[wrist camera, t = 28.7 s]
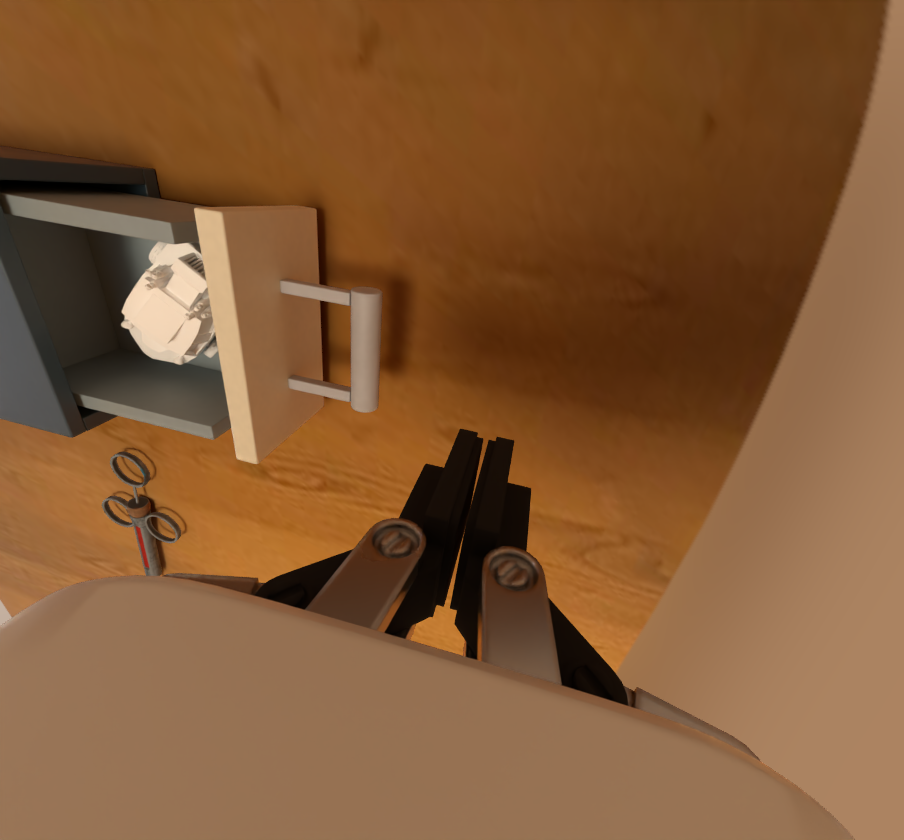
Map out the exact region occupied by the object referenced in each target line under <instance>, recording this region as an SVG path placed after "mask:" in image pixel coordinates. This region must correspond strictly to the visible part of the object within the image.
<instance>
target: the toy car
mask: <svg viewBox="0 0 904 840" xmlns="http://www.w3.org/2000/svg"><path fill="white" fill-rule="evenodd" d="M149 260H150V261H151V263H153V265H152V266H151V267H150V268H149V269H146V270H145V271H146V272H145V273H144V274H143V275H142V276H141V278H140V279H139V281H138V283H136V284H135V286H134V288H133V289H132V291H131V293H130V295H129V296H128V298H127V299H126V302H125V304H124V307H123V309H122V313H123V314H124V315H125V318H124V320H125V321H123V322H122V323H121V326H122V327H123V328H126V329H129V331H130V333H131V335H132V337H133V338H134V340H135V341H136V342H137V344H138V345H139V347H140V348H141V350H142V351H143V352H144V353H145V354H146V355H147V356H149V357H151V358H152V359H157V360H162V361H167V362H174V363H175V364H179V365H181V364H184V363H187V362H188V361H190V360H192V359H194V358H195V357H197V356H198V355H199V354H200V353H201V352H202V351H203V350H204V349H205V347H206V346H207V348H206V349H205V351H204V352H203V353H204V354H205V355H206V356H207V357H209V358H211V357H213V356H214V355H215V354H216V353H217V352H218V347H217V341H216V340H214V341H213V342H212V343H211V344H210V345H209V343H210V342H211V341H212V339H213V338H214V336H215V329H214V324H213V318H212V312H211V306H210V300H209V294H208V289H207V283H206V277H205V271H204V265H203V259H202V254H201V248H200V242H192V243H183V244H175V245H174V244H169V243H163V242H158V243H157V244H156V245H155V246H154V247H153V249H152V250H151V252H150V254H149Z"/></svg>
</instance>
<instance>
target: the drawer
mask: <svg viewBox="0 0 904 840" xmlns="http://www.w3.org/2000/svg"><path fill="white" fill-rule="evenodd" d="M0 205H1V208H2V210H3V213H4V215H5V218H6V221H7V223H8V226H9V229H10V231H11V234H12V236H13V239H14V242H15V244H16V247H17V250H18V252H19V255H20V258H21V260H22V263H23V265H24V268H25V271H26V273H27V276H28V279H29V281H30V284H31V286H32V289H33V292H34V294H35V297H36V300H37V302H38V305H39V307H40V310H41V313H42V315H43V318H44V321H45V323H46V326H47V328H48V331H49V334H50V336H51V339H52V342H53V344H54V347H55V349H56V352H57V355H58V357H59V360H60V363H61V365H62V368H63V370H64V373H65V376H66V378H67V381H68V384H69V386H70V389H71V391H72V394H73V397H74V399H75V402H76V405H78V406H82V407H86V408H90V409H94V410H98V411H102V412H106V413H110V414H114V415H118V416H122V417H126V418H129V419H133V420H137V421H141V422H145V423H149V424H153V425H157V426H161V427H165V428H169V429H173V430H177V431H181V432H185V433H189V434H193V435H197V436H200V437H204V438H208V439H212V440H214V439H216V438H217V437H218V436H220V435H221V434H223V433H224V432H226V431H227V430H229V429H230V428H232V434H233V440H234V446H235V452H236V457H237V459H238V460H242V461H246V462H250V463H254V464H258V463H259V462H260V461H262V460H263V459H264V458H265V457H266V456H267V455H268V454H270V453H271V452H272V451H273V450H274V449H275V448H276V447H278V446H279V445H280V444H281V443H282V442H283V441H285V440H286V439H287V438H288V437H289V436H290V435H291V434H293V433H294V432H295V431H296V430H297V429H298V428H299V427H301V426H302V425H303V424H304V423H305V422H306V421H307V420H309V419H310V418H311V417H312V416H313V415H314V414H315V413H317V412H318V411H319V410H320V409H321V408H322V407H323V406H324V396H325V397H330V398H334V399H338V400H343V401H347V402H350V401H351V407H352V408H353V409H354V410H356V411H358V412H372V411H374V410H376V409H377V408H378V400H379V373H380V346H381V320H382V291H381V290H379V289H376V288H372V287H354V288H352V289H351V290H347V289H342V288H336V287H331V286H325V285H320V284H319V262H318V236H317V210H316V209H315V208H310V207H304V206H297V205H288V206H239V207H207V206H201V205H195V204H189V203H183V202H177V201H170V200H164V199H158V198H152V197H146V196H140V195H134V194H128V193H122V192H116V191H109V190H103V189H97V188H91V187H85V186H79V185H64V184H62V185H61V184H33V183H1V182H0ZM158 242H163V243H169V244H174V245H175V244H183V243H192V242H200V248H201V254H202V259H203V265H204V271H205V277H206V283H207V289H208V294H209V300H210V306H211V312H212V318H213V324H214V329H215V336H214V338H213V339H212V341H211V342H210V343H209V345H210V344H211V343H212V342H213V341H214V340H216V341H217V347H218V352H217V353H216V354H215V355H214V356H213V357H211V358H209V357H207V356H206V355H205V354H204V353H203V352H204V351H205V349H206V348H207V346H206V347H205V349H204V350H203V351H202V352H201V353H200V354H199V355H198V356H197V357H195V358H194V359H192V360H190V361H188V362H187V363H184V364H181V365H179V364H175V363H174V362H167V361H162V360H157V359H152V358H151V357H149V356H147V355H146V354H145V353H144V352H143V351H142V350H141V348H140V347H139V345H138V344H137V342H136V341H135V340H134V338H133V337H132V335H131V333H130V331H129V329H126V328H123V327H122V326H121V323H122V322H123V321H125V320H124V318H125V315H124V314H123V313H122V309H123V307H124V304H125V302H126V299H127V298H128V296H129V295H130V293H131V291H132V289H133V288H134V286H135V284H136V283H138V281H139V279H140V278H141V276H142V275H143V274H144V273H145V272H146V271H145V270H146V269H149V268H150V267H151V266H152V265H153V263H151V261H150V260H149V254H150V252H151V250H152V249H153V247H154V246H155V245H156V244H157V243H158ZM320 300H321V301H326V302H332V303H337V304H342V305H347V306H350V305H351V387H347V386H343V385H338V384H334V383H329V382H324V381H323V367H322V340H321V314H320Z"/></svg>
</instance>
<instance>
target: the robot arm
mask: <svg viewBox="0 0 904 840" xmlns="http://www.w3.org/2000/svg"><path fill="white" fill-rule="evenodd" d="M477 434H478V432H473V431H469V430H464V429H460V430H459V433H458V435H457V438H456V440H455V442H454V445H453V447H452V450H451V452H450V455H449V457H448V460H447V462H446V464H445V467H444V468H443V467H439V466H434V465H430V464H425V466H424V467H423V470H422V472H421V474H420V476H419V478H418V480H417V482H416V484H415V486H414V488H413V490H412V492H411V494H410V496H409V498H408V500H407V502H406V504H405V507H404V509H403V511H402V513H401V515H400V517H399V518H391V519H386V520H383V521H380V522H378V523H376V524H375V525H374V526H373V527H372V528H370V529H369V531H368V532H367V533H366V534H365V536H364V537H363V538H362V539H361V541H360V542H359V543H358V544H357V546H356V547H355V548H354V549H353V550H350V551H347V552H344V553H341V554H339V555H336V556H333V557H330V558H327V559H325V560H322V561H319V562H316V563H313V564H310V565H308V566H305V567H302V568H299V569H296V570H294V571H291V572H288V573H285V574H282V575H280V576H277V577H275V578H273V579H271V580H269V581H268V582H266V583H259V582H258V578H250V577H234V576H217V575H200V574H183V573H176V574H166V575H163V576H143V575H134V576H120V577H108V578H101V579H95V580H90V581H85V582H81V583H77V584H74V585H71V586H68V587H65V588H62V589H60V590H58V591H56V592H54V593H52V594H50V595H48V596H46V597H44V598H43V599H41V600H39V601H37V602H36V603H34V604H32V605H31V606H29V607H28V608H26V609H24V610H23V611H21V612H20V613H18V614H17V615H15V616H14V617H12V618H11V619H10V620H8V621H7V622H5V623H4V624H2V625H1V626H0V840H855V839H854V838H853V836H852V835H851V834H850V833H849V832H848V831H847V830H846V829H845V828H844V827H843V825H842V824H841V823H839V821H838V820H837V819H836V818H835V817H834V816H832V814H831V813H829V812H828V811H827V810H826V809H825V808H823V806H821V805H820V804H819V803H818V802H817V801H815V800H814V799H813V798H812V797H811V796H809V795H808V794H807V793H805V792H804V791H803V790H801V789H800V788H799V787H798V786H796V785H795V784H793V783H792V782H790V781H789V780H788V779H786V778H785V777H783V776H782V775H780V774H778V773H777V772H776V771H774V770H773V769H771V768H770V767H768V766H767V765H765V764H764V763H762V762H761V761H760V760H759V758H758V757H757V756H756V755H755V754H754V753H753V752H752V751H751V750H750V749H749V748H748V747H747V746H746V745H745V744H743V743H742V742H740V741H739V740H737V739H736V738H734V737H733V736H731V735H729V734H727V733H726V732H724V731H722V730H720V729H718V728H716V727H714V726H712V725H709V724H708V723H706V722H704V721H702V720H700V719H698V718H696V717H694V716H692V715H691V714H689V713H687V712H685V711H683V710H680V709H679V708H677V707H675V706H673V705H671V704H669V703H667V702H665V701H663V700H661V699H659V698H657V697H656V696H654V695H651V694H650V693H648V692H646V691H644V690H642V689H640V688H638V687H637V688H636V689H635V691H633V690H631V689H629V688H627V687H625V686H623V684H622V682H621V680H620V679H619V678H618V676H617V675H616V673H615V672H614V671H613V670H612V668H611V667H610V666H609V665H608V664H607V663H606V662H605V661H604V660H603V658H602V657H601V656H600V655H599V654H598V653H597V652H596V651H595V649H594V648H593V647H592V646H591V645H590V644H589V643H588V642H587V640H586V639H585V638H584V637H583V636H582V635H581V634H580V633H579V631H578V630H577V629H576V628H575V627H574V626H573V625H572V624H571V623H570V621H569V620H568V619H567V618H566V617H565V616H564V615H563V614H562V612H561V611H560V610H559V609H558V608H557V607H556V606H555V605H554V603H553V602H552V601H551V600H550V599H549V598H548V594H547V587H546V581H545V575H544V572H543V569H542V566H541V565H540V563H539V562H538V561H537V559H536V558H534V557H533V556H532V555H531V554H530V553H528V552H526V549H527V537H528V524H529V511H530V499H531V488H528V487H524V486H520V485H515V484H511V483H507V482H508V476H509V470H510V464H511V458H512V452H513V446H514V440H509V439H505V438H500V437H497V438H496V441H492V440H489V441H488V445H487V448H486V452H485V456H484V460H483V463H482V467H481V471H480V474H479V478H478V482H477V485H476V489H475V493H474V496H473V491H474V486H475V481H476V475H477V470H478V465H479V460H480V455H481V449H482V444H483V438H479V437H477ZM472 496H473V500H472ZM471 502H472V504H471ZM470 507H471V508H470ZM464 530H465V532H464ZM463 534H464V537H463ZM462 538H463V542H462V547H461V553H460V558H459V563H458V568H457V574H456V579H455V584H454V589H453V595H452V600H451V605H450V609H454V610H457V614H456V619H455V625H456V627H457V628H458V630H459V631H460V633H461V634H462V636H463V637H464V639H465V643H464V647H463V656H461V655H458V654H454V653H451V652H448V651H444V650H441V649H437V648H434V647H431V646H427V645H424V644H420V643H417V642H414V641H410V639H411V637H412V635H413V632H414V629H415V626H416V623H418V622H420V621H422V620H424V619H426V618H428V617H433V615H434V611H435V608H436V605H440V606H443V607H444V604H445V600H446V597H447V593H448V589H449V586H450V582H451V578H452V575H453V571H454V567H455V564H456V560H457V556H458V552H459V549H460V545H461V541H462Z"/></svg>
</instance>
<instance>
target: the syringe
mask: <svg viewBox="0 0 904 840" xmlns="http://www.w3.org/2000/svg"><path fill="white" fill-rule="evenodd" d="M118 456H122V457H125V458H127V459H129V460H131V461H132V462H133V463H135V464H136V465H137V467H138V468H139V469H140V470H141V472H142V473H143V475H144V482H143V483H139V482H135V481H133V480H131V479H129V478H128V477H127V476H126V475H125V474H124V473H123V472H122V471H121V469H120V468H119V466H118V464H117V461H116V460H117V457H118ZM110 465H111V467H112V470H113V472H114V473H115V474H116V476H117V477H118V478H119V479H120V480H122V481H123V482H124V483H126V484H128V485H130V486H133V490H134V494H135V498H133V499H131V500H129V501H126V500H125V499H123V498H121V497H117V496H110V497H108V498H107V499H105V500H104V501H103V503H102V507H103V510H104V512H105V513H106V515H107V516H108V517H109V518H110V519H111V520H112V521H114V522H115V523H117V524H119V525H121V526H124V527H132V526H134V530H135V534H136V538H137V542H138V546H139V550H140V554H141V558H142V562H143V566H144V569H145V573H146V576H160V575H161V574H162V568H161V563H160V558H159V553H158V549H157V544H156V539H155V538H157V539H159V540H161V541H163V542H166V543H175V542H176V541H177V540H178V539H179V538H180V536H181V529H180V528H179V526H178V524H177V523H176V522H175V521H174V520H173V519H172V518H170V517H169V516H168V515H166V514H163V513H160V512H153V513H151V510H150V508H151V504H150V502H149V499H148V498H146V497H138V495H137V490H136V487H137V488H138V487H143V486H144V485H146V484H147V483H148V482H149V480H150V472H149V470H148V469H147V467H146V465H145V464H144V463H143V462H142V461H141V460H140V459H139V458H137V457H136V456H135V455H132V454H130V453H127V452H119V453H117V454H115V455H114V456H113V457H111V460H110ZM109 500H112V501H115V502H118V503H120V504H121V505H122V506H124V507H125V508H126V509H127V512H128V513H129V516H130V518H131V520H132V523H129V522H126V521H124V520H122V519H120V518H119V517H117V516H116V515H115V514H114V513H113V511H112V510H111V509H110V507H109V505H108V501H109ZM154 516H155V517H158V518H160V519H162V520H164V521H165V522H167V523H168V524H169V525H170V526H171V527H172V528H173V530H174V531H175V533H176V538H174V539H172V538H168V537H166V536H164V535H162V534H160V533H159V532H158V531H157V530H156V529H155V528H154V526H153V525H152V521H151V517H154Z"/></svg>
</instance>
